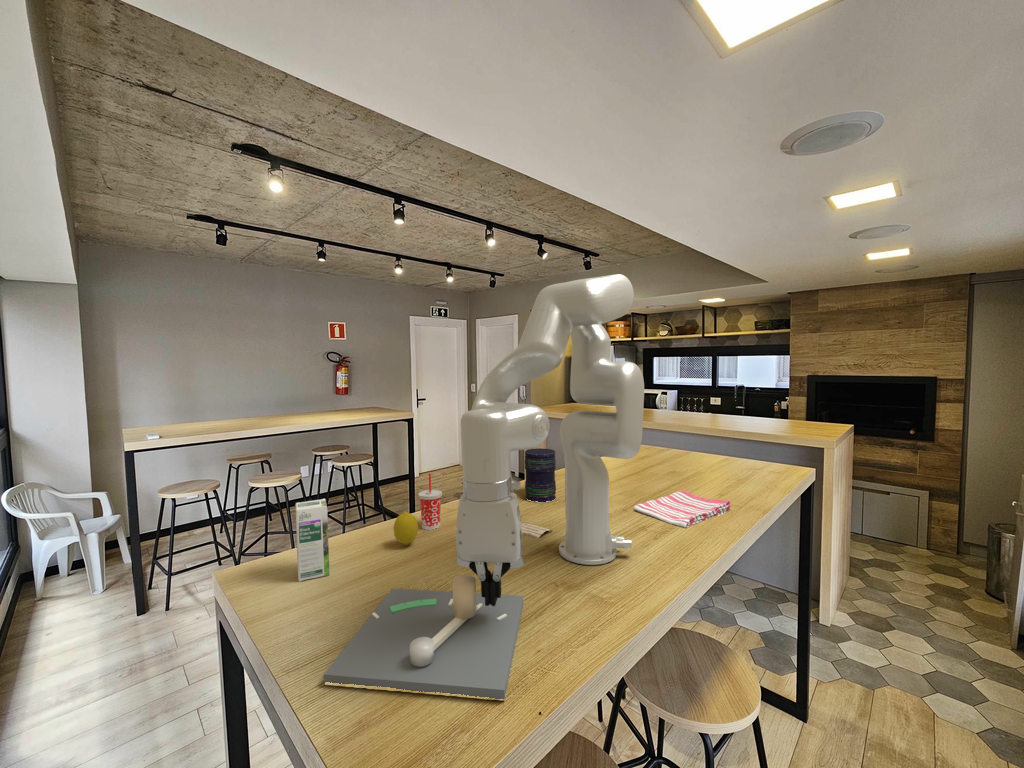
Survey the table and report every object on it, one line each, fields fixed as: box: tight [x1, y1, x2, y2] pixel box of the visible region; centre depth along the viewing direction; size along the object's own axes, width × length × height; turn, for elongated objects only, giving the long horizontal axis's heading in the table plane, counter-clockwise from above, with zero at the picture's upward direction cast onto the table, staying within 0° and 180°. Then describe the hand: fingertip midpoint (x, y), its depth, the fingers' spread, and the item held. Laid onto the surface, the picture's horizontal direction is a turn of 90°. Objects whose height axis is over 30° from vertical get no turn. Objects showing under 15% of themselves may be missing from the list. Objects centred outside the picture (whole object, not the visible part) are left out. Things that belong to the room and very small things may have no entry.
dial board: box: [323, 588, 524, 700], centre depth 65 cm, size 24×22×2 cm
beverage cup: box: [418, 473, 443, 531], centre depth 112 cm, size 6×6×14 cm
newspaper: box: [521, 521, 553, 540], centre depth 113 cm, size 24×7×2 cm, turn 51°
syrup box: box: [295, 498, 330, 583], centre depth 87 cm, size 6×6×14 cm
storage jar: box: [524, 448, 557, 502], centre depth 135 cm, size 10×10×15 cm
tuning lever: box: [410, 574, 478, 667], centre depth 64 cm, size 15×4×6 cm, turn 153°
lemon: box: [393, 511, 419, 547], centre depth 100 cm, size 6×6×8 cm
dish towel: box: [633, 489, 731, 529], centre depth 122 cm, size 17×23×4 cm
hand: (491, 600), depth 68 cm, fingers closed
